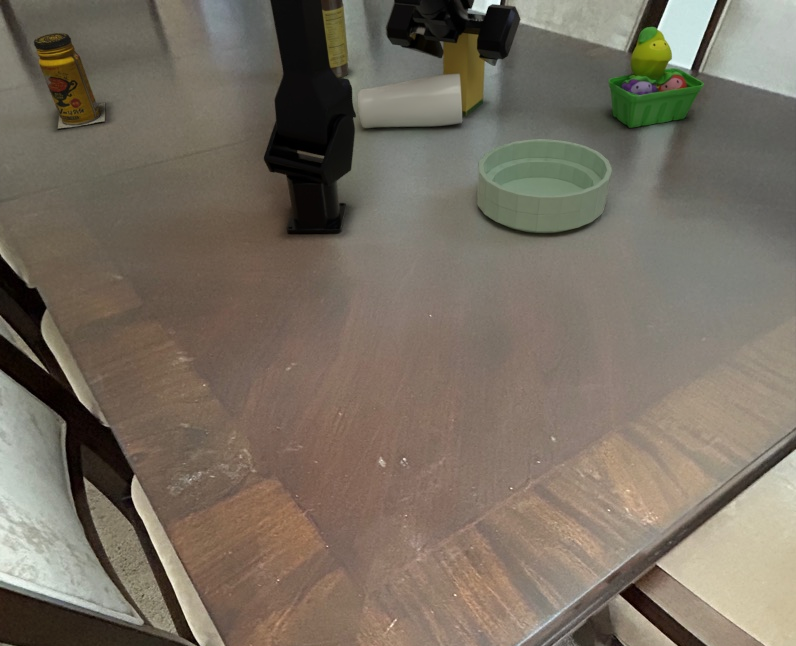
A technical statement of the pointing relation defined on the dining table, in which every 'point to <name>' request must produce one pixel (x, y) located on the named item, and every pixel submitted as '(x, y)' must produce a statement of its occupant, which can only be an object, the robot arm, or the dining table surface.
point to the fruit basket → (652, 85)
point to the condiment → (67, 81)
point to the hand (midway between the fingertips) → (468, 58)
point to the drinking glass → (412, 103)
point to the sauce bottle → (336, 36)
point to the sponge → (466, 69)
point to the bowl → (543, 185)
